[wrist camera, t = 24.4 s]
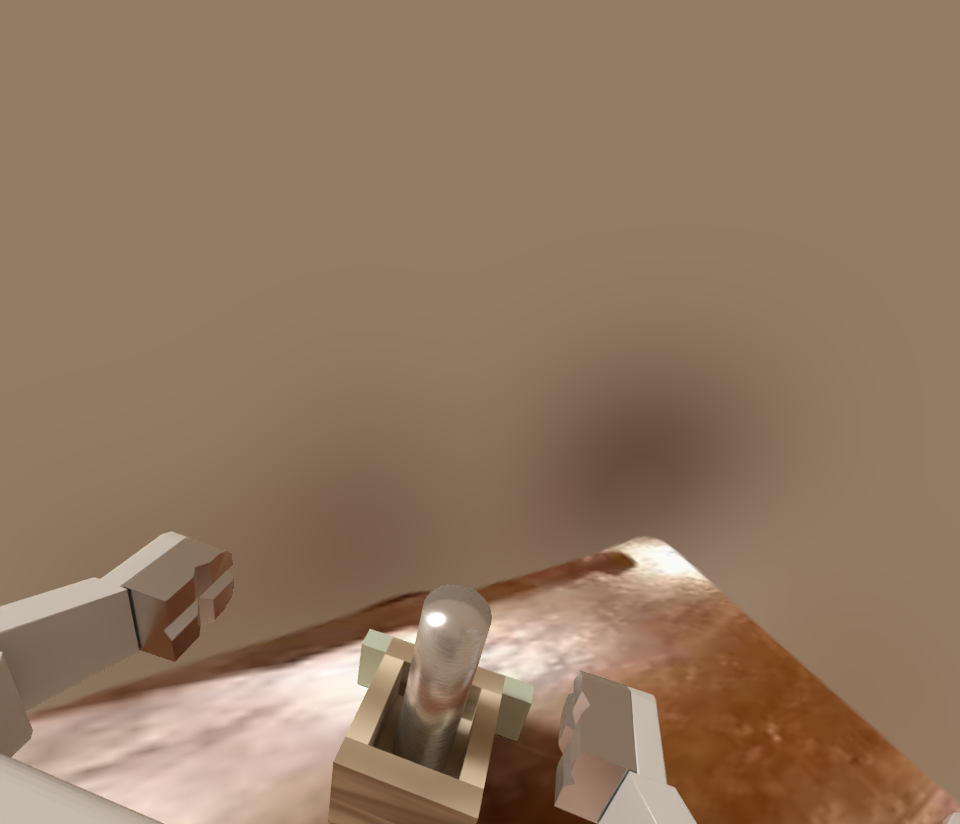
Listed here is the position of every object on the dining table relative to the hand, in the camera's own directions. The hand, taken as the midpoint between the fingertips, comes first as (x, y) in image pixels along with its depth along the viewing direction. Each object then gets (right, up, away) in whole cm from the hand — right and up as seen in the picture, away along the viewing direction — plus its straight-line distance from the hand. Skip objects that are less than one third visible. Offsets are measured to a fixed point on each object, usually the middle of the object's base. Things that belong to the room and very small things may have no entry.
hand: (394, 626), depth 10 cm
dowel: (-2, -19, +22) cm, 29 cm away
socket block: (-3, -22, +23) cm, 32 cm away
